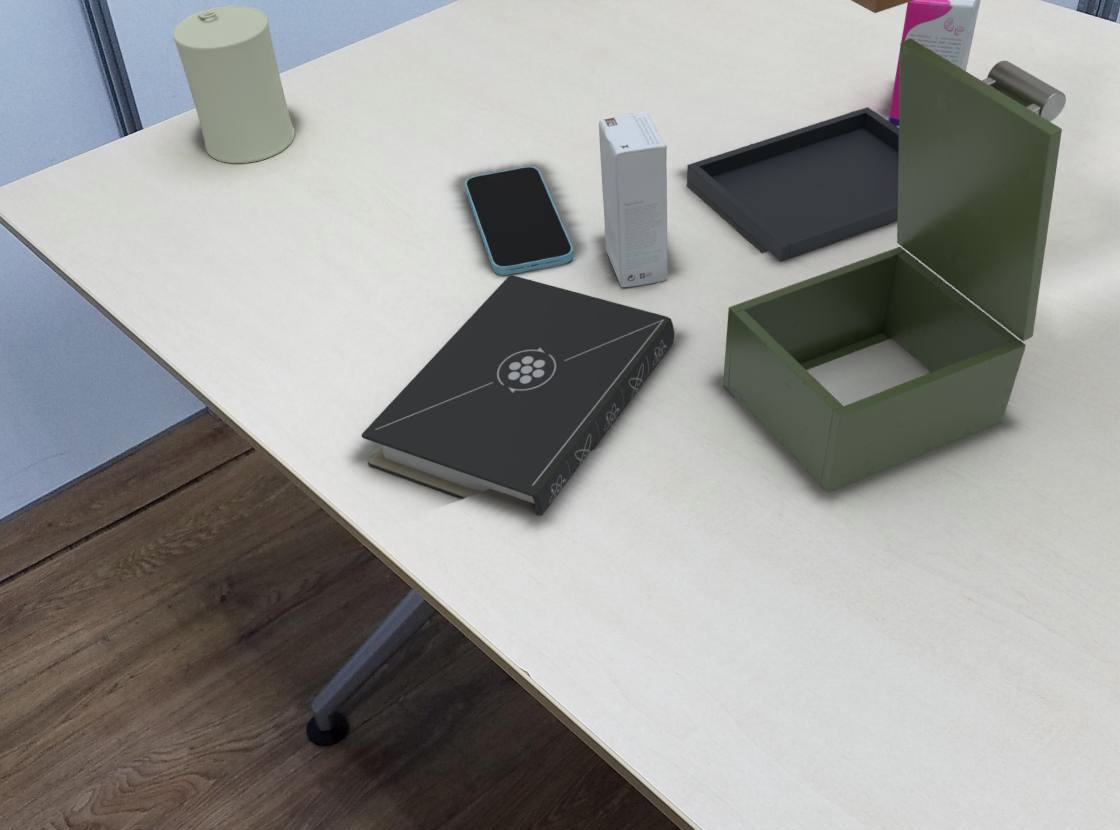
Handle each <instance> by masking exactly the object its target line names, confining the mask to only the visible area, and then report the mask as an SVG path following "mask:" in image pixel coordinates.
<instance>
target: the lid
mask: <svg viewBox="0 0 1120 830" xmlns="http://www.w3.org/2000/svg"><path fill="white" fill-rule="evenodd" d="M899 45H900V47H899V52H900V95H899V125H898V128H899V155H898V215H897V221H896V223H897V227H896V243H897V244H898V246H899V247H901V248H902V249H904V250H905V251H906V252H907V253H909V254H910V255H911V256H913V257H914V258H915V259H916V260H918V261H919V262H920V263H921V264H923V265H924V266H925V267H927V268H928V269H929V270H930V271H932V272H933V273H934V274H936V275H937V276H938V277H939V278H941V279H942V280H943V281H944V282H946V283H947V284H948V285H950V286H951V287H952V288H953V289H955V290H956V291H957V292H958V293H960V294H961V295H962V296H964V297H965V298H966V299H967V300H969V301H970V302H971V303H973V304H974V305H975V306H976V307H978V308H979V309H980V310H981V311H983V312H984V313H985V314H987V315H988V316H989V317H990V318H992V319H993V320H994V321H996V322H997V323H998V324H999V325H1001V326H1002V327H1003V328H1004V329H1006V330H1007V331H1008V332H1010V333H1011V334H1012V335H1013V336H1015V337H1016V338H1017V339H1019V340H1020V341H1021V342H1025V341H1027V340H1029V339H1030V338H1032V337H1033V336H1034V330H1035V323H1036V317H1037V310H1038V301H1039V295H1040V289H1041V280H1042V274H1043V267H1044V259H1045V252H1046V245H1047V238H1048V230H1049V223H1050V218H1051V210H1052V202H1053V196H1054V188H1055V183H1056V182H1055V181H1056V174H1057V167H1058V161H1059V155H1060V154H1059V152H1060V145H1061V140H1062V139H1061V138H1062V133H1063V129H1062V128H1061V127H1060V126H1058V125H1056V124H1055V123H1053V122H1052V121H1054V120H1055V119H1056V118H1057V117H1058V116H1059V115H1060V114H1061V113H1062V111H1063V110H1064V108H1065V105H1066V102H1067V98H1066V94H1065V93H1064V92H1062V91H1061V90H1059V89H1057V88H1056V87H1054V86H1052V85H1051V84H1049V83H1047V82H1045V81H1043V80H1042V79H1040V78H1038V77H1036V76H1035V75H1034V74H1031V73H1029V72H1028V71H1026V70H1024V69H1022V68H1021V67H1019V66H1017V65H1015V64H1014V63H1012V62H1010V61H1009V60H1001V61H999V62H998V61H997V63H995V64H994V65H993V66H992V68H990V70H989V72H988V74H987V77H986V78H984V79H982V80H981V79H980V78H978V77H976V76H974V75H973V74H971V73H969V72H968V71H967V70H966V71H965V70H963V69H961V68H960V67H958V66H956V65H955V64H953V63H951V62H950V61H948V60H946V59H944V58H943V57H941V56H939V55H938V54H936V53H934V52H933V51H931V50H929V49H928V48H926V47H924V46H923V45H921V44H919V43H918V42H916V41H914V40H913V39H911V38H910V39H908V40H906V41H904V42H902V43H901V42H900V43H899Z"/></svg>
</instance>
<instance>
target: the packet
mask: <svg viewBox="0 0 1120 830" xmlns="http://www.w3.org/2000/svg"><path fill="white" fill-rule="evenodd" d="M850 1H851V2H852V3H855V4H857V5H859V6H861V7H863V8H864V9H866V10H867V11H870V12H871V13H874V14H877V13H880V12H883V11H886V10H890V9H893V8H895V7H899V6H902V5H905V4H907V3H908V2H911V1H914V0H850Z"/></svg>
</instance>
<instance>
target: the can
mask: <svg viewBox="0 0 1120 830" xmlns="http://www.w3.org/2000/svg"><path fill="white" fill-rule="evenodd" d="M172 38H173V41H174V43H175V45H176V49H177V51H178V55H179V58H180V62H181V64H182V68H183V71H184V75H185V77H186V80H187V84H188V87H189V90H190V94H191V97H192V101H193V104H194V108H195V110H196V114H197V118H198V121H199V125H200V128H201V132H202V136H203V140H204V148H205V151H206V152H207V154H208V156H210V157H211V158H213V159H215V160H216V161H219V162H223V163H227V164H248V163H254V162H260V161H263V160H266V159H269V158H272V157H274V156H276V155H278V154H279V153H281V152H283V151H284V150H286V149H287V148H288V147H289V146H290V145H291V144H292V142H293V141H294V140H295V135H296V134H295V133H296V132H295V128H294V126H293V123H292V119H291V116H290V113H289V108H288V105H287V100H286V97H285V93H284V87H283V83H282V80H281V75H280V71H279V67H278V62H277V59H276V58H277V57H276V54H275V48H274V43H273V39H272V35H271V31H270V26H269V18H268V16H267V14H266V13H265V12H264V11H262V9H261V10H260V9H258V8H256V7H253V6H247V5H223V6H217V7H211V8H207V9H204V10H201V11H198V12H196V13H194V14H191V15H189V16H188V17H185V18H184V19H183V20H181V21H180V22H179V23H177V24H176V26H175V27H174V29H173V31H172Z"/></svg>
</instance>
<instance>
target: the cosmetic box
mask: <svg viewBox="0 0 1120 830" xmlns="http://www.w3.org/2000/svg"><path fill="white" fill-rule="evenodd" d="M598 132H599V133H598V135H599V137H598V138H599V139H598V140H599V153H600V155H599V157H600V171H601V173H600V174H601V186H602V190H601V191H602V203H603V204H602V205H603V217H604V218H603V222H604V238H605V251H606V254H607V256H608V259H609V261H610V263H611V266H612V269H613V271H614V273H615V275H616V278H617V280H618V282H619V285H620V287H622V288H630V287H639V286H644V285H650V284H655V283H661V282H665V281H667V279H668V275H669V269H668V267H669V266H668V265H669V263H668V261H669V259H668V257H669V256H668V252H669V251H668V173H667V172H668V170H667V167H668V166H667V152H668V150H667V149H668V147H667V144H666V143H665V141H664V139H663V137H662V135H661V134H660V133H659V131H658V129H657V127H656V125H655V123H654V122H653V120H652V118H651V117H650V115H649V113H648V112H647V111H643V112H636V113H630V114H626V115H621V116H615V117H611V118H604V119H601V120H599V121H598Z"/></svg>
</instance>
